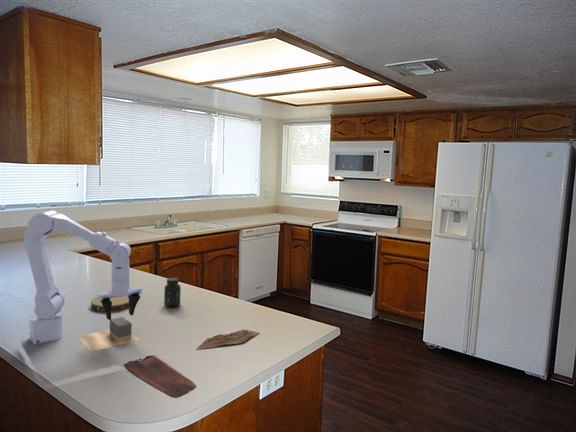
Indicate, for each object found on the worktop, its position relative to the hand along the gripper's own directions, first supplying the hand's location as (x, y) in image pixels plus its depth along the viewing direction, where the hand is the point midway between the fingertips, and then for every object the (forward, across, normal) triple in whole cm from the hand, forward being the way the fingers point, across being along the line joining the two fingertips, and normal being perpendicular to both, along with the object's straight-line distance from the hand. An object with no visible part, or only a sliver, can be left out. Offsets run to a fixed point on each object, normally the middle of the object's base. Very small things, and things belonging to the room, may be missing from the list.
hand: (120, 316), depth 145 cm
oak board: (+8, -4, 0) cm, 9 cm away
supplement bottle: (+8, +31, +23) cm, 40 cm away
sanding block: (+7, 0, 0) cm, 7 cm away
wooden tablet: (+9, 0, -32) cm, 33 cm away
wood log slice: (+9, +10, +37) cm, 39 cm away
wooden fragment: (+9, +30, -22) cm, 38 cm away
